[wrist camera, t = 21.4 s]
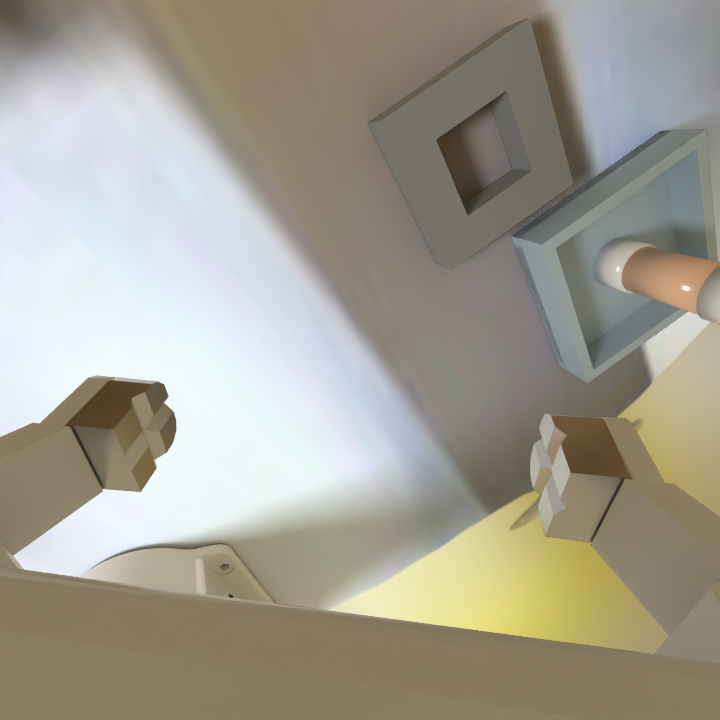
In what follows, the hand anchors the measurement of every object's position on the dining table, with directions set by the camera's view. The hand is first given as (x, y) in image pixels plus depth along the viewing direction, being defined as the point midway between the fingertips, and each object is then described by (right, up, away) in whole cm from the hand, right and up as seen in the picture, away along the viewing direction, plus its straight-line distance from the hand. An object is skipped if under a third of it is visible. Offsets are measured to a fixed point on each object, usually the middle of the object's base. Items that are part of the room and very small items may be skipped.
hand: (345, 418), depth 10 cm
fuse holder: (+9, +17, +24) cm, 31 cm away
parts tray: (+24, +11, +33) cm, 42 cm away
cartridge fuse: (+24, +10, +32) cm, 41 cm away
